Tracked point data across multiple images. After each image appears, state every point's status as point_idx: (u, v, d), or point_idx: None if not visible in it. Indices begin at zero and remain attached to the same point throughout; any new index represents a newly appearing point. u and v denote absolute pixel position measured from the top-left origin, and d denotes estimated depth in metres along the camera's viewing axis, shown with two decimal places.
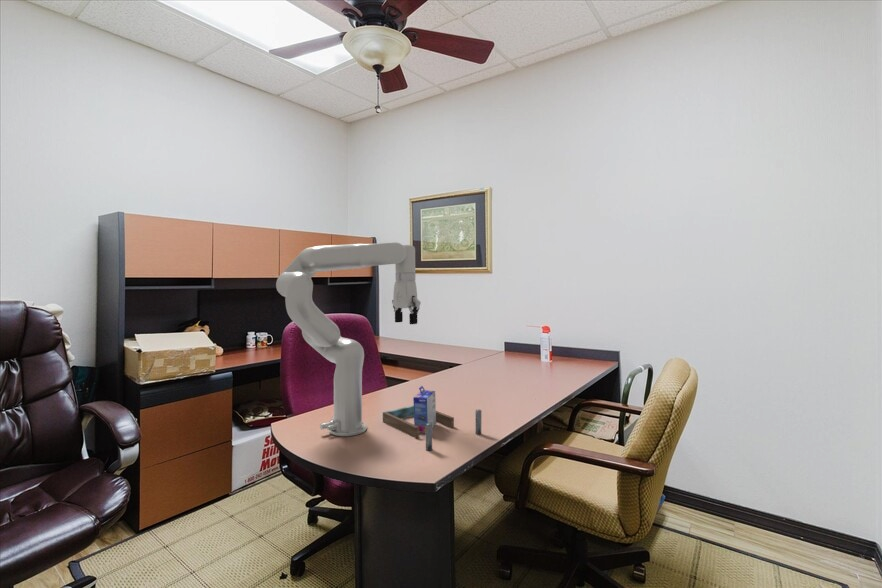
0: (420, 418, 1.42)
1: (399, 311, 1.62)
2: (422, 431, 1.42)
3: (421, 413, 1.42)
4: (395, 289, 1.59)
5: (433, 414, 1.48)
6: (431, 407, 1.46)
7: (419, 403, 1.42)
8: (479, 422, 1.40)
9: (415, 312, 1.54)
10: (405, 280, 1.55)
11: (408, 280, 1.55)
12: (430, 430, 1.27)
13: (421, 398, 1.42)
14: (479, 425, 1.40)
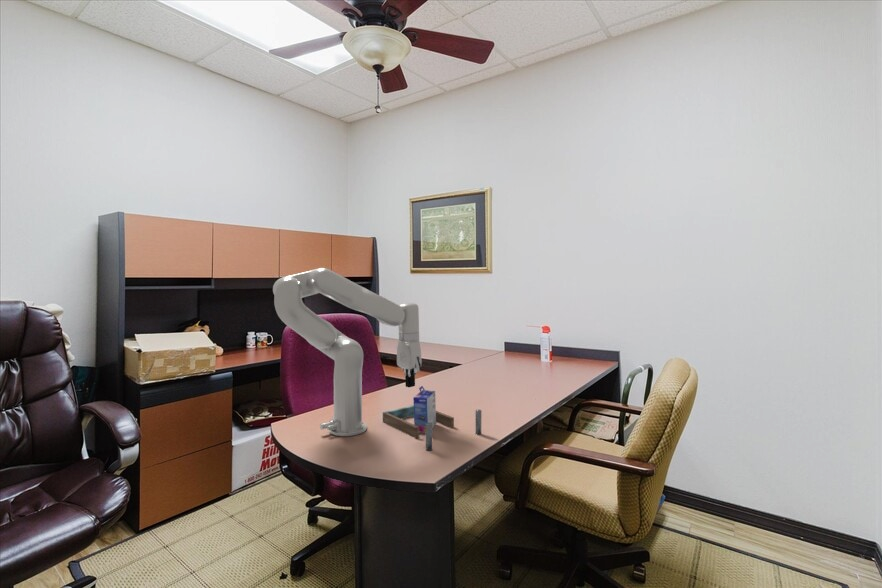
0: (420, 418, 1.42)
1: None
2: (422, 431, 1.42)
3: (421, 413, 1.42)
4: (398, 348, 1.55)
5: (433, 414, 1.48)
6: (431, 407, 1.46)
7: (419, 403, 1.42)
8: (479, 422, 1.40)
9: None
10: (409, 341, 1.50)
11: (412, 341, 1.51)
12: (430, 430, 1.27)
13: (421, 398, 1.42)
14: (479, 425, 1.40)
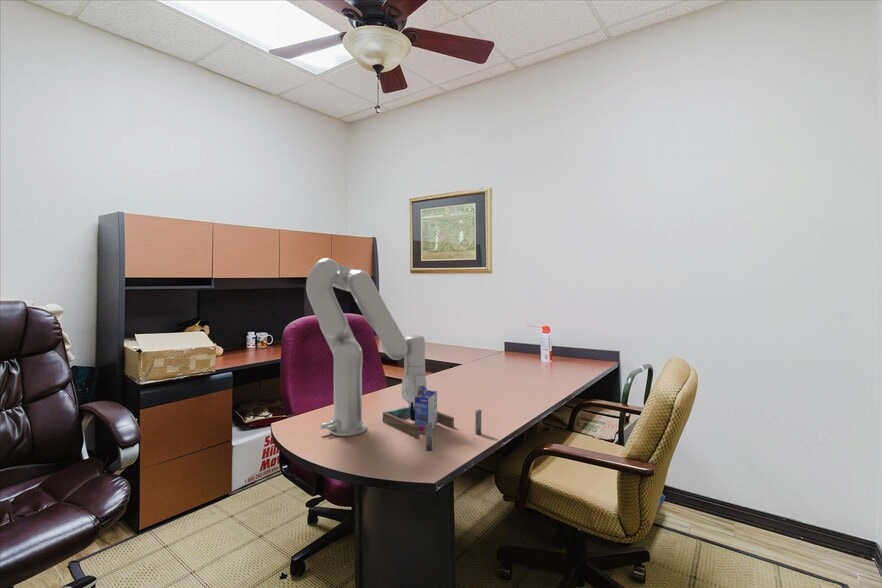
0: (421, 418, 1.42)
1: None
2: (422, 431, 1.42)
3: (422, 413, 1.42)
4: (404, 381, 1.52)
5: (434, 415, 1.48)
6: (432, 407, 1.45)
7: (420, 403, 1.42)
8: (479, 422, 1.40)
9: None
10: (414, 374, 1.48)
11: (418, 374, 1.48)
12: (430, 430, 1.27)
13: (422, 398, 1.42)
14: (479, 425, 1.40)
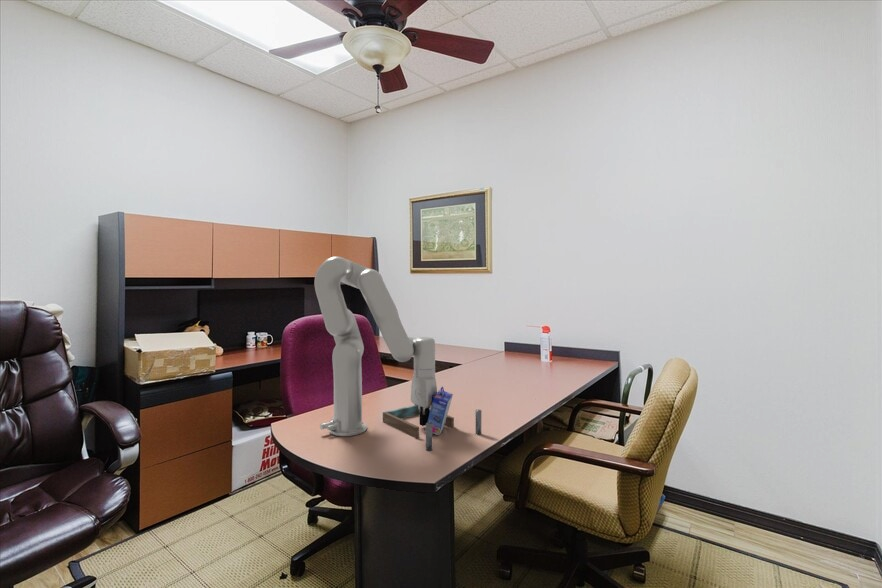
0: (436, 419, 1.39)
1: None
2: (433, 432, 1.40)
3: (437, 415, 1.39)
4: (413, 384, 1.47)
5: (445, 417, 1.46)
6: (447, 410, 1.43)
7: (438, 404, 1.39)
8: (479, 422, 1.40)
9: None
10: (424, 377, 1.43)
11: (428, 377, 1.43)
12: (430, 430, 1.27)
13: (442, 400, 1.39)
14: (479, 425, 1.40)
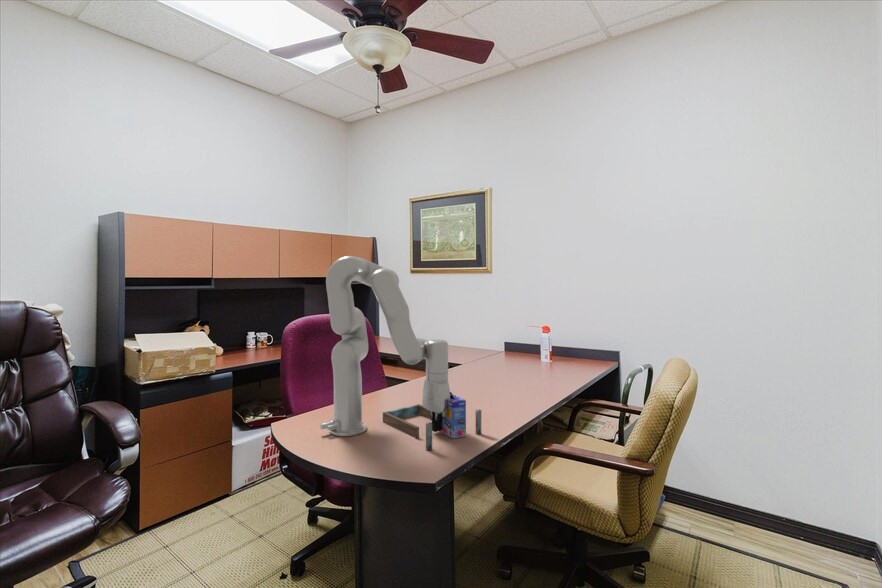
0: (460, 422, 1.38)
1: None
2: (461, 435, 1.38)
3: (460, 417, 1.38)
4: (425, 389, 1.42)
5: None
6: None
7: (459, 407, 1.37)
8: (479, 422, 1.40)
9: None
10: (437, 382, 1.38)
11: (441, 381, 1.38)
12: (430, 430, 1.27)
13: (460, 401, 1.38)
14: (479, 425, 1.40)
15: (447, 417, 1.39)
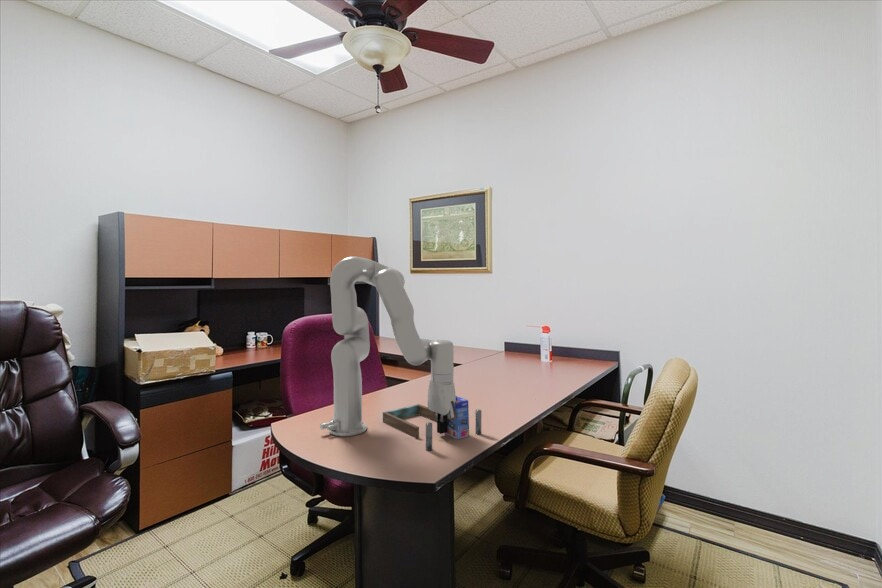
0: (463, 422, 1.38)
1: None
2: (464, 435, 1.38)
3: (463, 418, 1.38)
4: (430, 390, 1.40)
5: None
6: None
7: (462, 407, 1.37)
8: (479, 422, 1.40)
9: None
10: (443, 383, 1.36)
11: (446, 383, 1.36)
12: (430, 430, 1.27)
13: (463, 402, 1.38)
14: (479, 425, 1.40)
15: None
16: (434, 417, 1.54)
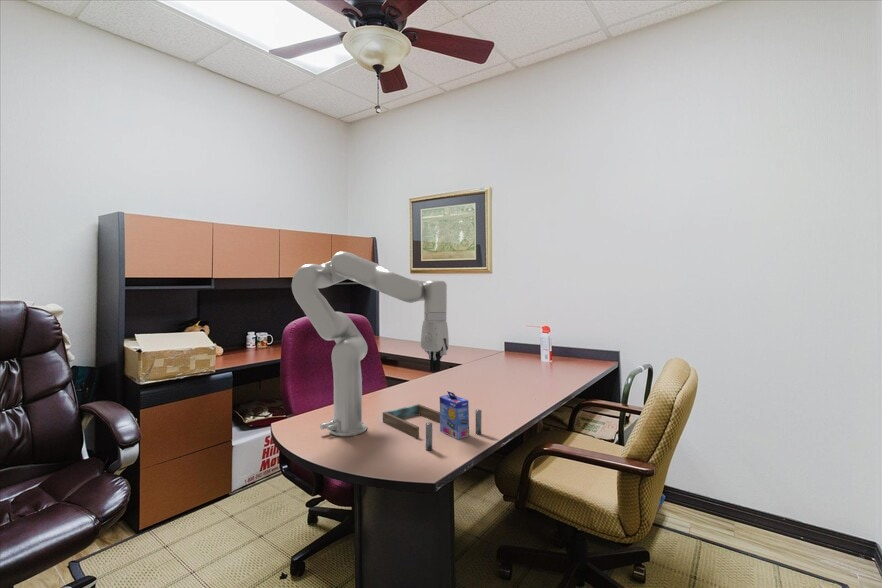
0: (463, 422, 1.38)
1: None
2: (464, 435, 1.38)
3: (463, 418, 1.38)
4: (423, 329, 1.42)
5: None
6: None
7: (462, 407, 1.37)
8: (479, 422, 1.40)
9: None
10: (435, 320, 1.38)
11: (439, 320, 1.38)
12: (430, 430, 1.27)
13: (463, 402, 1.38)
14: (479, 425, 1.40)
15: (450, 418, 1.39)
16: (434, 417, 1.54)
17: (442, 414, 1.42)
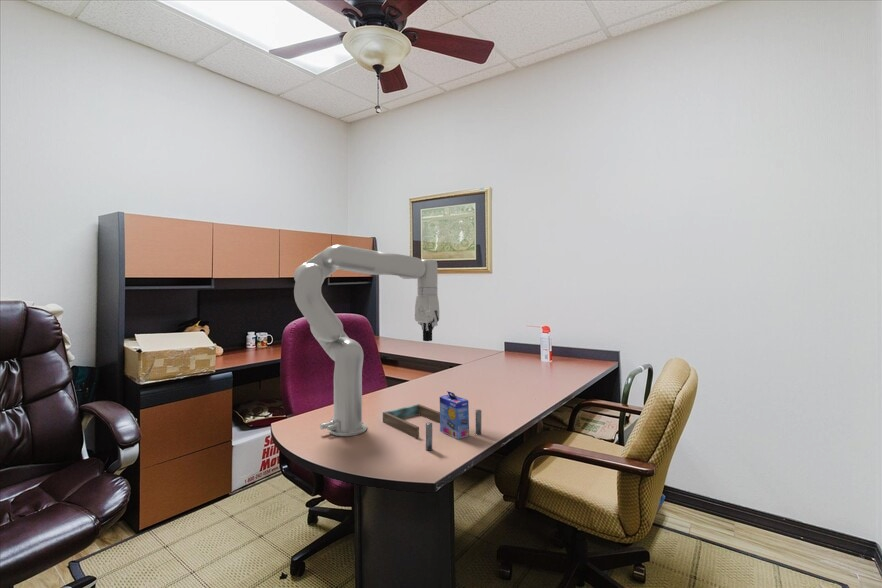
0: (463, 422, 1.38)
1: None
2: (464, 435, 1.38)
3: (463, 418, 1.38)
4: (417, 303, 1.58)
5: None
6: None
7: (462, 407, 1.37)
8: (479, 422, 1.40)
9: (429, 330, 1.57)
10: (427, 295, 1.54)
11: (430, 295, 1.54)
12: (430, 430, 1.27)
13: (463, 402, 1.38)
14: (479, 425, 1.40)
15: (450, 418, 1.39)
16: (434, 417, 1.54)
17: (442, 414, 1.42)
